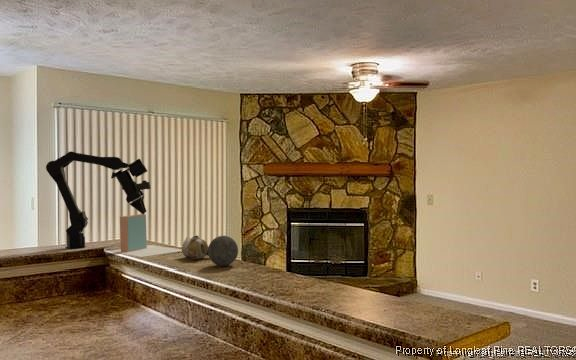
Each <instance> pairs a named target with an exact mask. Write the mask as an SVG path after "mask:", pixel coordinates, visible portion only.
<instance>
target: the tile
mask: <svg viewBox="0 0 576 360" xmlns="http://www.w3.org/2000/svg"><path fill="white" fill-rule="evenodd" d="M119 229H120V230H119V233H120V234H119V237H120V249H121V252H131V251H136V250H140V249H145V248H147V245H148V244H147V243H148V241H147V238H148V237H147V214H146V213H145V214H142V213H139V214H138V213H137V214H131V215H122V216H119Z"/></svg>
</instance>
